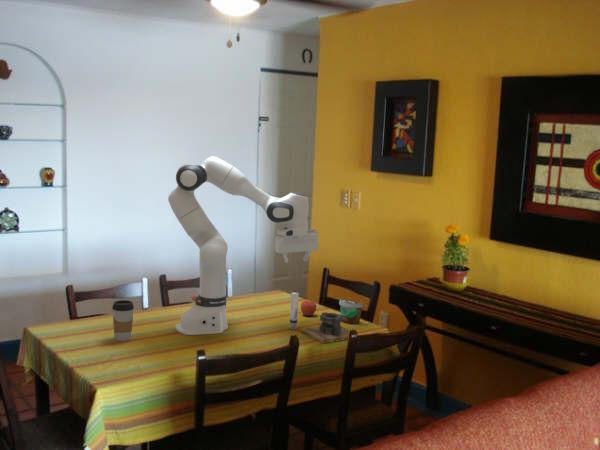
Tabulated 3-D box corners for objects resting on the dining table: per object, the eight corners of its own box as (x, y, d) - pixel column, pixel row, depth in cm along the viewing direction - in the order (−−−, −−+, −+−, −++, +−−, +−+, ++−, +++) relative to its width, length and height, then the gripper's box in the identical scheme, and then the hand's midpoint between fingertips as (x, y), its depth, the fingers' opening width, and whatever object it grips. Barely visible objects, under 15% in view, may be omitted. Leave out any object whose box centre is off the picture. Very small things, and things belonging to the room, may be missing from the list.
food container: (332, 320, 317) (333, 299, 316) (340, 318, 322) (342, 297, 320) (353, 326, 309) (354, 305, 307) (361, 324, 313) (363, 302, 312)
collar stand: (322, 343, 284) (323, 323, 282) (302, 332, 297) (303, 313, 296) (358, 338, 293) (359, 318, 292) (336, 327, 306) (338, 308, 305)
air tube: (291, 330, 299) (293, 294, 297) (287, 328, 302) (289, 292, 300) (298, 329, 301) (300, 293, 299) (294, 327, 304) (296, 291, 302)
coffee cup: (110, 336, 279) (110, 300, 276) (131, 335, 282) (132, 299, 280) (113, 343, 271) (113, 306, 269) (135, 341, 274) (135, 304, 272)
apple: (307, 312, 328) (308, 296, 327) (319, 316, 323) (320, 299, 322) (296, 315, 323) (297, 298, 322) (308, 318, 318) (309, 301, 317)
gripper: (313, 227, 304) (312, 258, 306) (273, 230, 293) (272, 262, 295) (321, 230, 298) (320, 261, 300) (280, 232, 288) (279, 265, 290)
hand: (296, 261), depth 298 cm, fingers open, 8 cm apart
